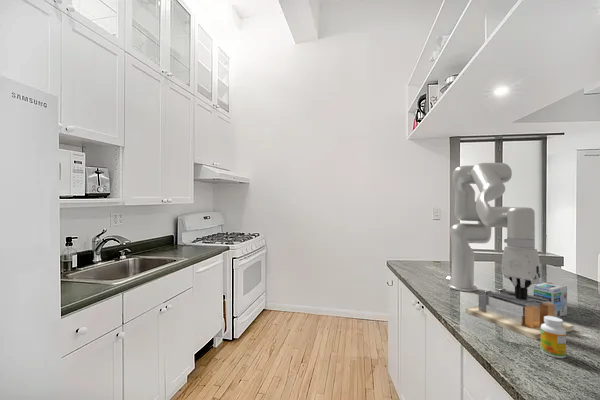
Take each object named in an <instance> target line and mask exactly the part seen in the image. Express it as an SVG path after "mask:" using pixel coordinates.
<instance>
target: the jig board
mask: <svg viewBox="0 0 600 400" xmlns="http://www.w3.org/2000/svg"><path fill="white" fill-rule="evenodd" d="M465 313H466V314H469V315H471V316H474V317H477V318H479V319H482V320H483V321H486V322H490V323H491V324H494V325H496V326H499V327H502V328H505V329H507V330H510V331H512V332H515V333H517V334H520V335H523V336H526V337H527V338H530V339H532V340H541V325H542V324H543V323H540V327H537V328H530V327H527V326H525V325H523V326H521V325H518V324H515V323H512V322H510V321H507V320H504V319H501V318H499V317H496V316H493V315H490V314H488V313H485V312H482V311H479V305H477V306H473V307H472V306H471V307H466V308H465ZM562 327H563V328H564V329H565V330H566V333H567V332H571V331H574V329H575V326H574V325H573V324H570V323H567V322H564V321H563V326H562Z"/></svg>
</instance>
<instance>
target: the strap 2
mask: <svg viewBox="0 0 600 400" xmlns="http://www.w3.org/2000/svg"><path fill="white" fill-rule="evenodd" d="M497 292H499V293H502V292H503V293H508V294H512V295H515V291H512V290H508V289H506V288H500V289H498V291H497ZM527 298H530V299H534V300H539V301H543V302H547V301H549V299H546V298H541V297H536V296H534V295H531V294H528V296H527Z"/></svg>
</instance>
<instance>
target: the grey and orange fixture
mask: <svg viewBox="0 0 600 400" xmlns="http://www.w3.org/2000/svg"><path fill="white" fill-rule="evenodd" d="M494 293H499V291H495V292H494ZM500 294H505V295H510V296H515V295H512V294H508V293H503V292H502V293H500ZM527 299H530V298H527ZM531 300H534V299H531ZM478 306H479V311H482V312H485V313H488V314H490V315H493V316H496V317H499V318H501V319H504V320H507V321H510V322H512V323H515V324H518V325H521V326H523V325H525V326H527V327H530V328H537V327H540V323H543V324H544V323H545V322H544V316H553V317H555V305H554V304H550V303H545V302H542V301H538V300H534V302H532V303H528V302H523V301H518V300H513V299H508V298H503V297H498V296H493V295H485V294H484V293H482V294H478Z"/></svg>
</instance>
